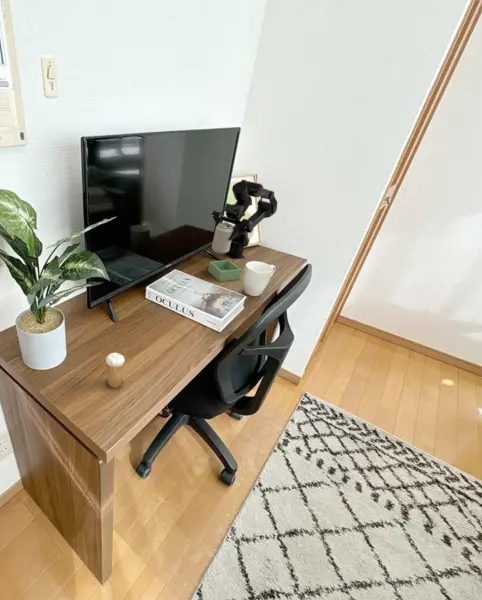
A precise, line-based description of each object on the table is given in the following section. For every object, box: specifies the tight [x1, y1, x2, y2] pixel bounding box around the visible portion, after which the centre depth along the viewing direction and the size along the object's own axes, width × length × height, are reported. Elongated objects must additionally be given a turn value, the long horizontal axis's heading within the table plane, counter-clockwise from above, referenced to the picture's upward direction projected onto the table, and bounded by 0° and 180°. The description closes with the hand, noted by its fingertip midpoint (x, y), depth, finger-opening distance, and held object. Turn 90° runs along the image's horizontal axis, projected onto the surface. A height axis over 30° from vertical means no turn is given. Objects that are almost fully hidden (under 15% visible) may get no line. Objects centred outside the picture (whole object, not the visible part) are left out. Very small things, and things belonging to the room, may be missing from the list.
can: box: [211, 222, 234, 254], centre depth 138 cm, size 8×8×12 cm
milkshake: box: [105, 352, 126, 389], centre depth 79 cm, size 4×5×10 cm
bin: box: [207, 259, 242, 282], centre depth 135 cm, size 9×9×4 cm
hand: (221, 237), depth 137 cm, fingers closed on can, 7 cm apart
